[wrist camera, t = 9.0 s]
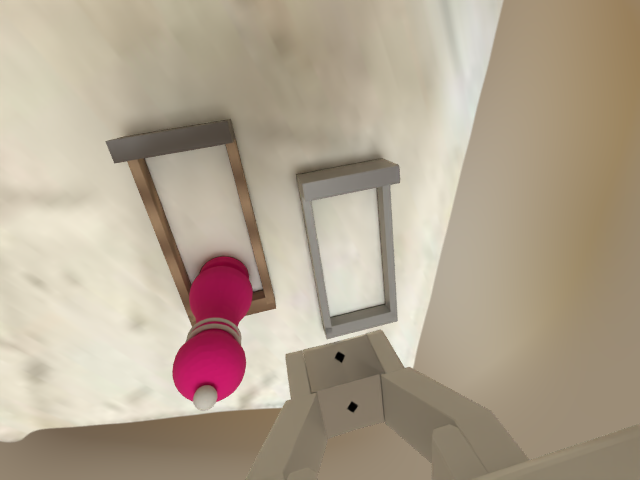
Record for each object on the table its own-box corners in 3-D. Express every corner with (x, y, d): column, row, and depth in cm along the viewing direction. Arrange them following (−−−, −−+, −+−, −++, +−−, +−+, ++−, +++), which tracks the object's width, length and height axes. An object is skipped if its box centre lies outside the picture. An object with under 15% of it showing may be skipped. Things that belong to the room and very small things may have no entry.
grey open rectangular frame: (296, 174, 38) (302, 184, 34) (382, 158, 40) (399, 165, 35) (323, 330, 48) (331, 353, 44) (392, 313, 50) (406, 334, 45)
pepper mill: (229, 241, 40) (211, 353, 22) (263, 281, 43) (271, 407, 25) (183, 272, 41) (127, 407, 22) (220, 309, 44) (197, 454, 26)
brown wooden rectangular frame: (125, 136, 33) (105, 141, 29) (230, 119, 35) (227, 121, 30) (195, 318, 43) (188, 343, 39) (275, 300, 45) (277, 322, 40)
